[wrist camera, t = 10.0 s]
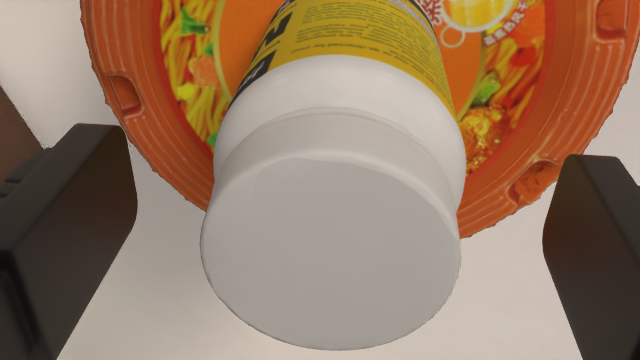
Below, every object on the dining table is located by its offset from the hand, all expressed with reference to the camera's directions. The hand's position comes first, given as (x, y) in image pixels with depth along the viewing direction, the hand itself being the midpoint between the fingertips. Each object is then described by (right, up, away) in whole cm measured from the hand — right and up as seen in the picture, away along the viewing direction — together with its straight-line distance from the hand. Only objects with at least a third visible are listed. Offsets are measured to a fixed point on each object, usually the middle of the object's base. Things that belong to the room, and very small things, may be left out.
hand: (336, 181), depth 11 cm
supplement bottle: (+1, +3, +5) cm, 6 cm away
